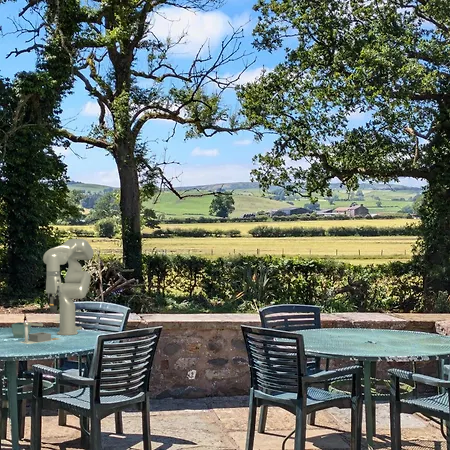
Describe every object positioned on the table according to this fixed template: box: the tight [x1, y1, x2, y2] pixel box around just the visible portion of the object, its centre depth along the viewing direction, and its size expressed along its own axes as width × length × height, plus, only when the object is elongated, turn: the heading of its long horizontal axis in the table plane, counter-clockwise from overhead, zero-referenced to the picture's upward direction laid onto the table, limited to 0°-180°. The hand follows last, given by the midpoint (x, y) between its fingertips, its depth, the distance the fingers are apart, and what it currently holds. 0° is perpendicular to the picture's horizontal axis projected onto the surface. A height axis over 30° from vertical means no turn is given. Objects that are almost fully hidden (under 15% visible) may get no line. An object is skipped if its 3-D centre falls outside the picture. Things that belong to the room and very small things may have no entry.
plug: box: [49, 295, 58, 313], centre depth 412 cm, size 5×5×9 cm
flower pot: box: [11, 321, 32, 339], centre depth 418 cm, size 9×9×9 cm
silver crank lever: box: [23, 321, 44, 327], centre depth 397 cm, size 13×3×2 cm, turn 64°
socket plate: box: [19, 326, 54, 345], centre depth 404 cm, size 17×10×10 cm, turn 139°
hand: (53, 304), depth 412 cm, fingers closed on plug, 4 cm apart
